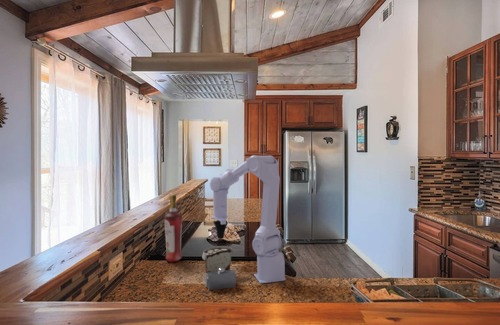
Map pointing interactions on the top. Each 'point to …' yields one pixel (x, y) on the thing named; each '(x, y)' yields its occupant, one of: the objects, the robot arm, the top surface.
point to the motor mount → (220, 279)
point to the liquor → (173, 232)
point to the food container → (217, 258)
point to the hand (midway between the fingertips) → (220, 238)
